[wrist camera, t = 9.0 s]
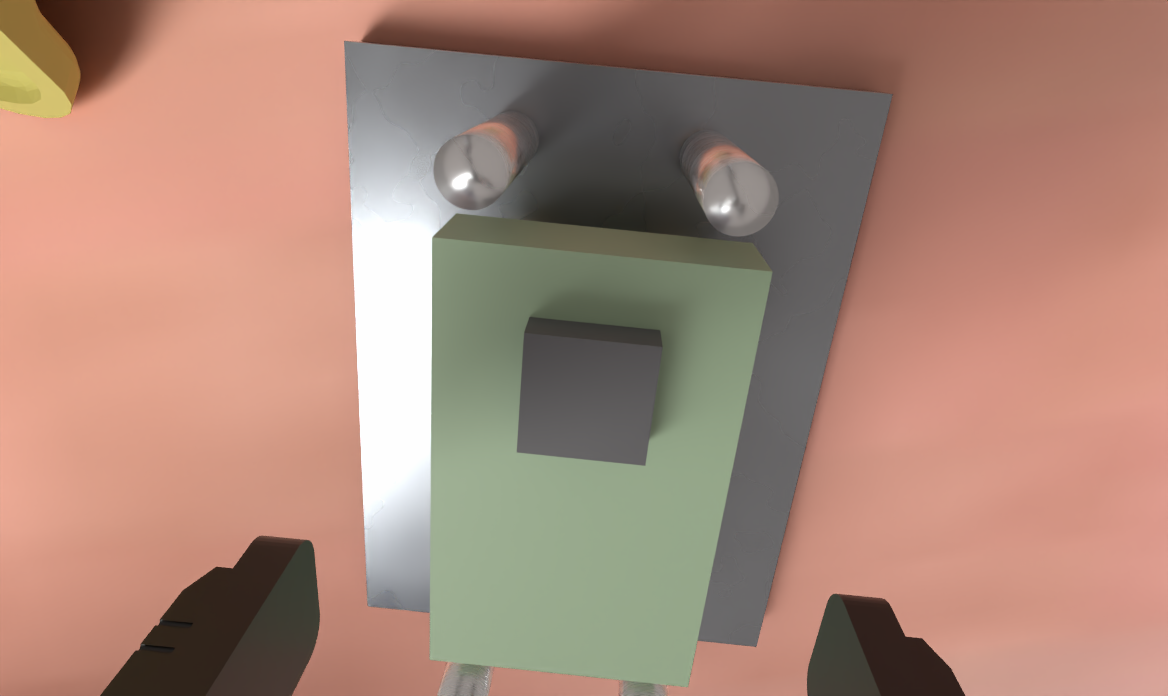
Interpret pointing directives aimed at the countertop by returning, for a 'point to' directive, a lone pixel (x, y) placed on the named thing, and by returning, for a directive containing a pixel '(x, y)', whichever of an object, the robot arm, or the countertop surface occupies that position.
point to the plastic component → (34, 63)
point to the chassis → (605, 200)
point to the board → (583, 441)
